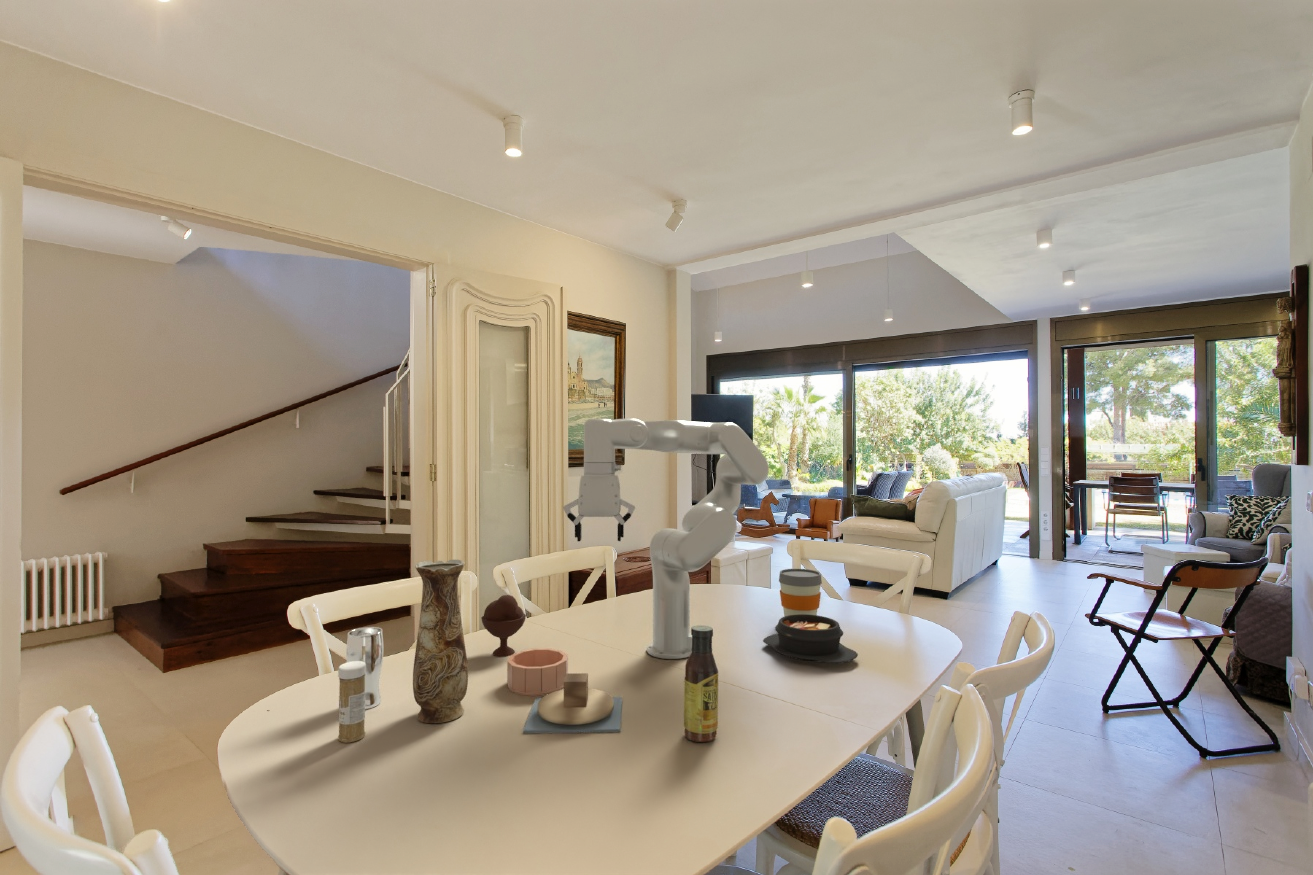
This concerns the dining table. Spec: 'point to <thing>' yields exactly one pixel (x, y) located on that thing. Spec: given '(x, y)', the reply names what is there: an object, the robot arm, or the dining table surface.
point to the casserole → (810, 639)
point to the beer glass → (367, 659)
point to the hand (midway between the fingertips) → (599, 540)
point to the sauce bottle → (701, 688)
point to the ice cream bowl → (503, 622)
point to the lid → (575, 702)
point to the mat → (604, 725)
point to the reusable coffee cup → (800, 591)
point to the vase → (440, 645)
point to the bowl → (537, 671)
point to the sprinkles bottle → (351, 701)
